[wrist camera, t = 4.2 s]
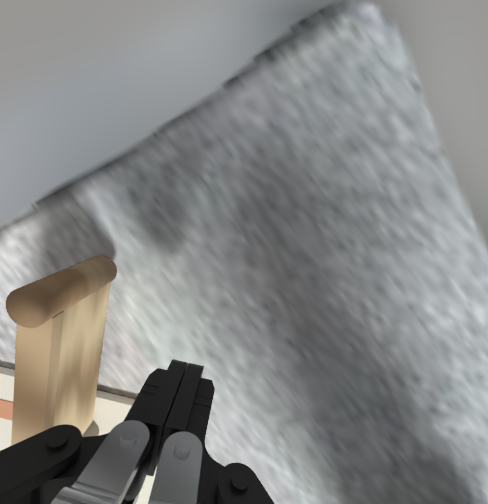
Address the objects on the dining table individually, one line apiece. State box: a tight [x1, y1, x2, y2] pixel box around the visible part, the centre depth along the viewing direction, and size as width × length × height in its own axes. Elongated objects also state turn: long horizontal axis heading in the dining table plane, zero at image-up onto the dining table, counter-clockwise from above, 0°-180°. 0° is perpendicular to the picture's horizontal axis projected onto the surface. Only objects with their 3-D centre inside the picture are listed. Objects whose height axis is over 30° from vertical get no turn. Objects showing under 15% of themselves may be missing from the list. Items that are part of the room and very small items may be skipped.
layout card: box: [0, 366, 157, 504], centre depth 22 cm, size 20×18×1 cm
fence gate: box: [6, 255, 117, 446], centre depth 16 cm, size 12×2×6 cm, turn 167°
